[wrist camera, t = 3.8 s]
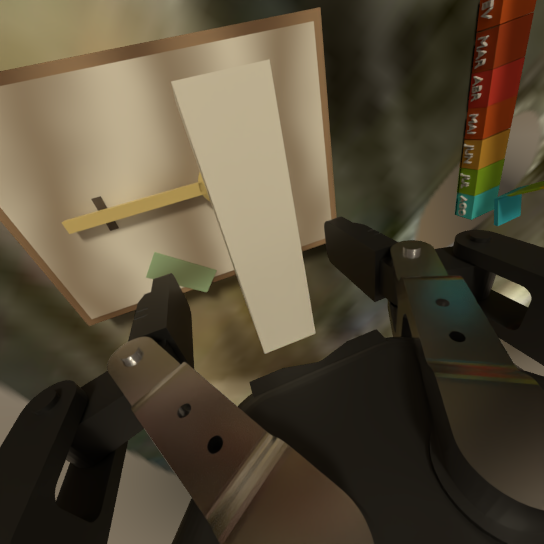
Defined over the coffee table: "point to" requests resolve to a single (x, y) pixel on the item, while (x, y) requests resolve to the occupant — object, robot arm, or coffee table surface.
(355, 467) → the robot arm
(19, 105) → the desk tray with supplies
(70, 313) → the coffee table surface
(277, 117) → the wooden mallet
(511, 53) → the chart
